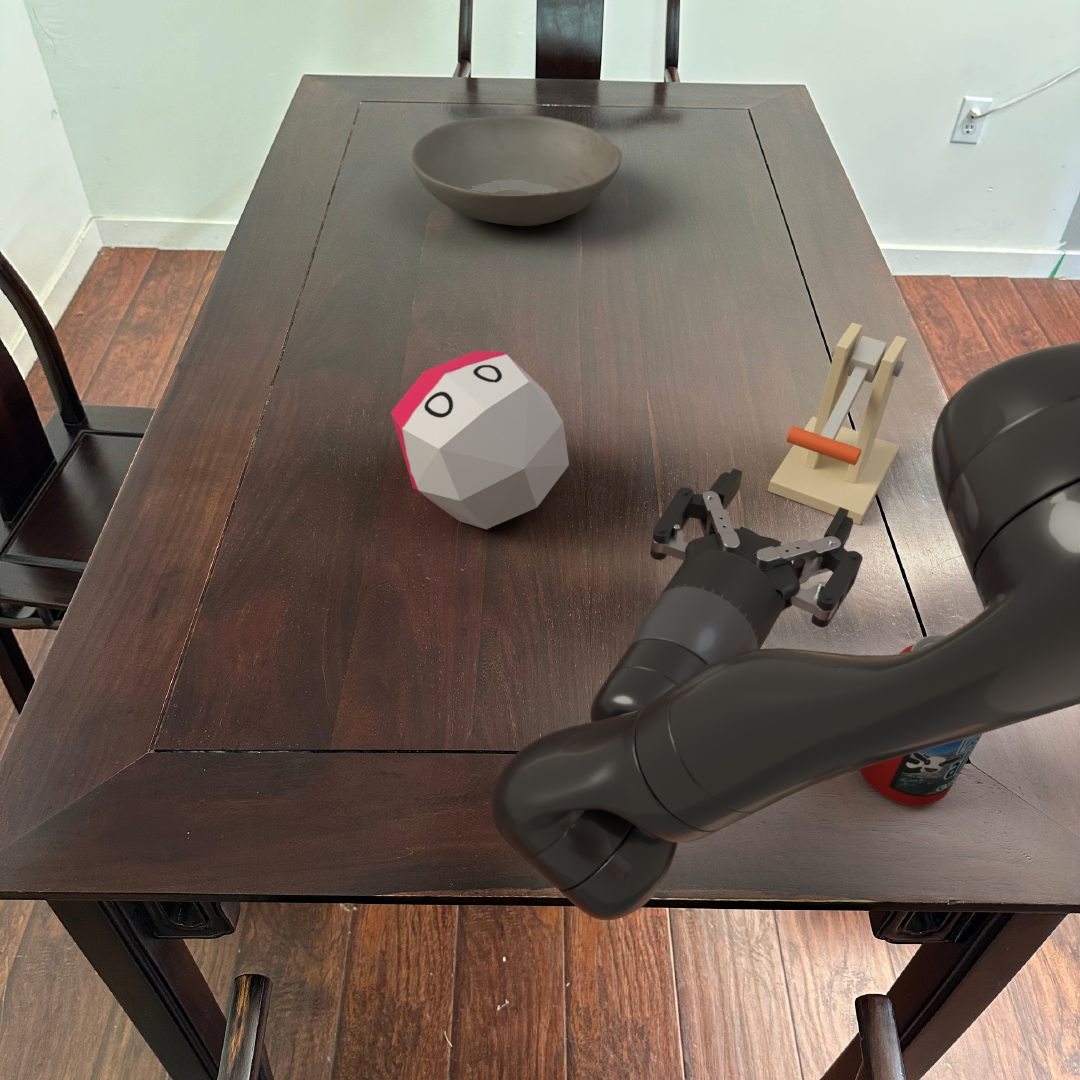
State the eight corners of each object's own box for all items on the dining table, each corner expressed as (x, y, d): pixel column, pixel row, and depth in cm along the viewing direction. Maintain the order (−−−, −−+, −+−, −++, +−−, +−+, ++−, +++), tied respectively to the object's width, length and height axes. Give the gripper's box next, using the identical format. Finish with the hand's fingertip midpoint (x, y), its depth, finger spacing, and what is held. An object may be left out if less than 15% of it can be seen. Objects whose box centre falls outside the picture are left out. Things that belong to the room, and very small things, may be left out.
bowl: (623, 258, 124) (629, 196, 118) (406, 255, 124) (400, 193, 118) (612, 170, 144) (616, 113, 138) (424, 167, 144) (420, 109, 138)
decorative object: (471, 301, 88) (560, 344, 77) (532, 425, 97) (619, 479, 86) (338, 396, 85) (411, 455, 74) (415, 515, 94) (489, 583, 83)
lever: (853, 472, 81) (857, 455, 79) (785, 448, 83) (787, 432, 81) (904, 366, 85) (909, 348, 83) (838, 346, 87) (841, 328, 85)
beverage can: (912, 830, 66) (969, 728, 58) (833, 764, 70) (876, 659, 62) (968, 776, 69) (1030, 672, 61) (889, 716, 73) (937, 610, 65)
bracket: (859, 525, 88) (904, 392, 78) (767, 491, 92) (798, 358, 81) (896, 455, 96) (942, 325, 86) (809, 426, 99) (843, 297, 89)
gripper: (816, 640, 59) (892, 492, 69) (611, 554, 64) (709, 428, 74) (793, 712, 64) (866, 565, 74) (604, 628, 70) (697, 500, 80)
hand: (788, 496), depth 74 cm, fingers open, 8 cm apart
